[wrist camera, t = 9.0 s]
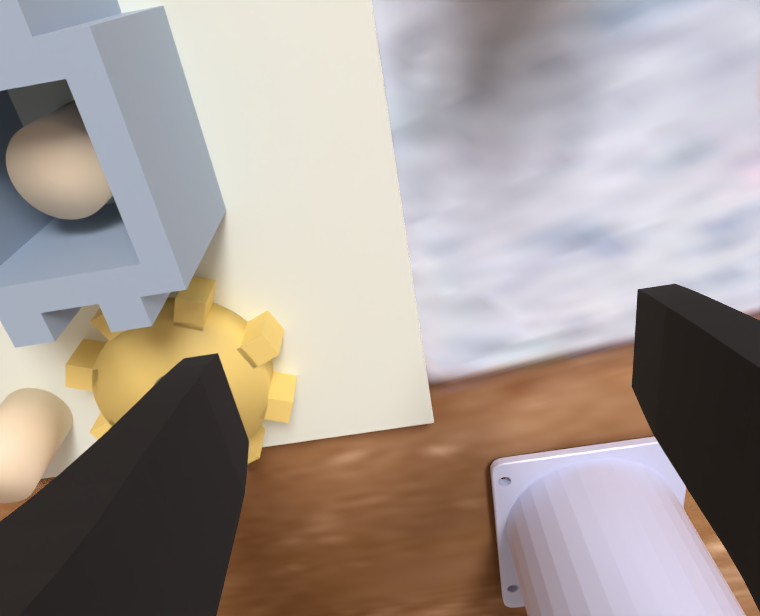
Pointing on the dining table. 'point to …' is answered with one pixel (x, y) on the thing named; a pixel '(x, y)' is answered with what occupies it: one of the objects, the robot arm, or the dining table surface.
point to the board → (239, 245)
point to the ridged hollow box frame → (104, 170)
